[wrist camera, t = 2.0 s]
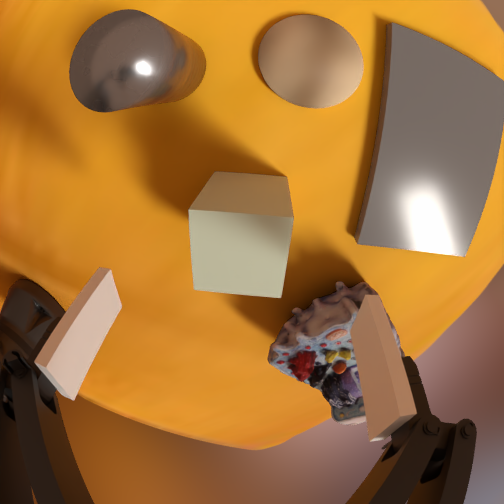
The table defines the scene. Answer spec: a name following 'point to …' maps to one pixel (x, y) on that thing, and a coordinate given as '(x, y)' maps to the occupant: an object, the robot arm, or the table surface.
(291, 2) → the table surface
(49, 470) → the robot arm
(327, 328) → the cell model
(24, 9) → the table surface
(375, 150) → the slate board
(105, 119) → the table surface
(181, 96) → the dark tin
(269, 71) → the cork coaster
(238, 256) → the sage block
